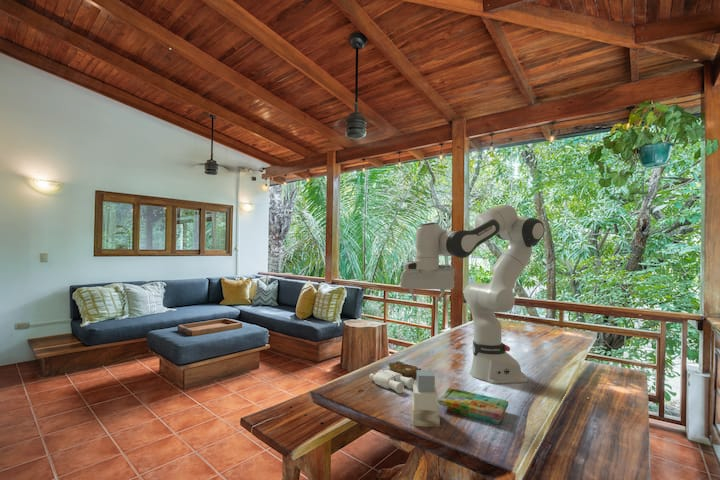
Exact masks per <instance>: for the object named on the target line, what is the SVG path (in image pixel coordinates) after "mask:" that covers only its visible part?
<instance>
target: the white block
mask: <svg viewBox="0 0 720 480" xmlns="http://www.w3.org/2000/svg"><path fill="white" fill-rule="evenodd" d="M412 399H413V404H414V410H429V411H437V404H438V393H437V388H436V387H435V392H418V389H417V383H414V384H413V387H412Z"/></svg>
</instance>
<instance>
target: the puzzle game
mask: <svg viewBox="0 0 720 480" xmlns="http://www.w3.org/2000/svg"><path fill="white" fill-rule="evenodd" d="M437 404H439V405H441V406H443V407H444V406H445V407H447V409H448V410H449V411H450V412H451V413H454V414H458V415H461V416H465V417H467V418H471V419H475V420H479V421H484V422H487V423H491V424H494V425H497V426H498V425H500V424H499V423H501V421H502V419H503V417H504V415H505V413H506V411H507V408H508V407H509V401H508V400H506V399H502V398H497V397H493V396H489V395H486V394H480V393H476V392H471V391H466V390H461V389H456V388H453V387H448V389H447V390H446V391H445V392H443V394H442V395H441V396H440V397H439V398H437Z"/></svg>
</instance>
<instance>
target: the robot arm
mask: <svg viewBox="0 0 720 480" xmlns="http://www.w3.org/2000/svg"><path fill="white" fill-rule="evenodd" d="M544 234H545V226H544V223H543V222H542V221H541V220H540V219H537V218H534V217H525V216H518V212H517V210H516V209H515V208H514V207H513V206H512V205H510V204H501V205H498V206H494V207H492V208H489V209H487V210H483V212H481V213H480V214H478V215H477V216H476V217H475V220H474V228H472V229H471V230H453V231H452V230H451V231H447V230H445V229H444V228H443V227H440V225H439V224H438V223H437V222H426V223H421V224H419V225H418V226H417V228H416V232H415V248H416V252H415V253H416V254H415V260H411V261H409V262H405V263H404V264H403V268H404V269H403V271H402V272H401V275H400V277H401V278H400V288H402V289H403V290H409V292H410V295H411V296H412V297H411V299H412V301H413V302H417V301H418V300H417V298H418V297H417V295H415V294H414V290H439V291H440V294H439V295H437V297H436V301H437V302H442V299H443V296H444V295H445V293H446V291H445V290H453V289H454V288H455V278H454V277H455V273H456V272H455V271H456V269H455V268H454V266H453V265H450V264H440V256H441V257H452V258H453V257H454V258H460V259H464V258H468V257H469V256H471V255H472V254H473V252H474V251H475V250H476V249H477V248H478V247H479V246H480V245H482V244H483V243H485V242H487V241H488V240H490V239H492V238H493V237H497V238H498V239H500V240H503V241H509V242H508V246H507V247H506V248H505V250H503V252H502V253H501V254H500V256H499V257H498V259H497V260H496V262H495V263H494V264H493V265H492V267H491V269H490V271H491V275H492V278H491V280H490V281H489V282H488V283H484V282H471V283H469V284H467V285H466V286H465V287H464V290H463V298H464V300H465V302H466V303H467V305H468V306H469V310H470V313H471V317H472V321H473V341H472V354H473V355H472V357H473V358H472V364H471V367H470V371H469V373H470V375H471V376H472V377H474V378H476V379H478V380H482V381H485V382H488V383H490V384H494V385H495V384H498V385H499V384H516V383H527V382H528V377H527V375H526V374H525V373H524V372H523V371H522V369H521V365H520V363H519V362H518V361H517V359H515V358H514V357H513V356H512V355H510V354H509V353H508V352H510V351H511V347H510V346H508V345H506V344H505V343H503V342H502V324H501V322H500V321H499V319H498V318H497V316H496V313H508V312H509V311H511V310H512V309H513V308H514V306H515V304H516V299H515V298H516V297H515V294H514V292H513V291H514V287H515V283H516V281H517V280H518V278H519V277H520V276H521V274H522V272H523V271H524V270H525V268H526V266H527V265H528V263H529V261H530V259H531V257H532V255H533V247H535V246H537V244H538V243H539V242H540V241H541V240H542V238H543V237H544Z"/></svg>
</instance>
